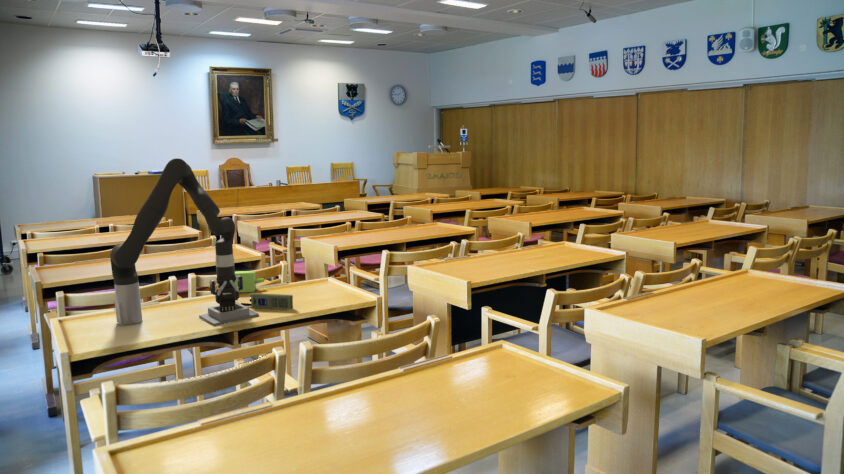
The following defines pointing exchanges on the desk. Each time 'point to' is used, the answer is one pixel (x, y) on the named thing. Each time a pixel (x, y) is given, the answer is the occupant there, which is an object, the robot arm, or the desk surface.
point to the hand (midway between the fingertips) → (227, 301)
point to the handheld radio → (270, 301)
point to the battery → (227, 299)
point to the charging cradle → (227, 314)
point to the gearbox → (248, 280)
